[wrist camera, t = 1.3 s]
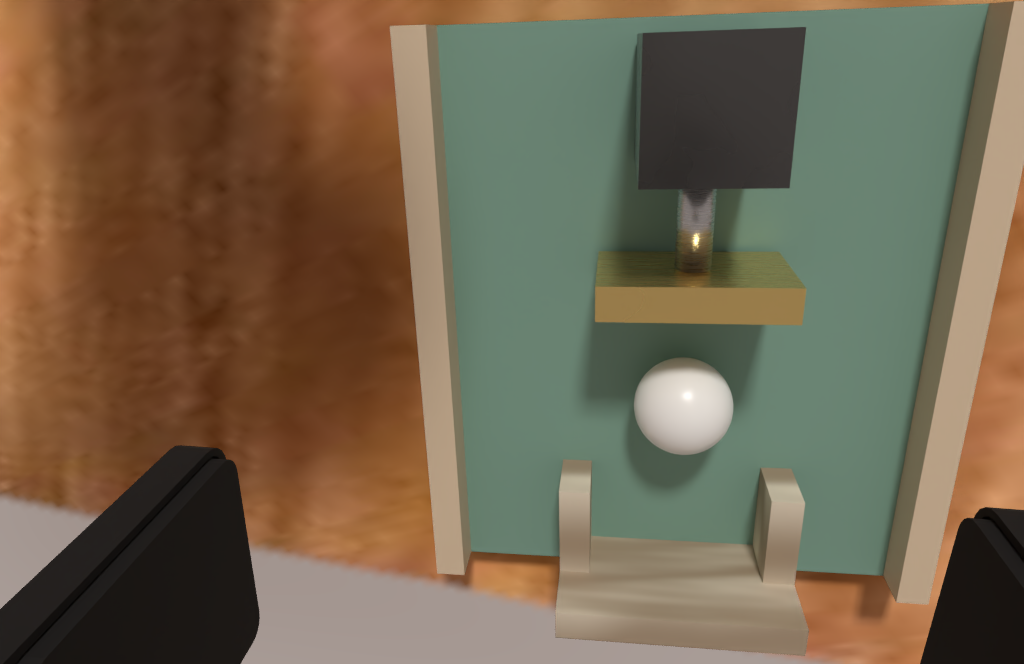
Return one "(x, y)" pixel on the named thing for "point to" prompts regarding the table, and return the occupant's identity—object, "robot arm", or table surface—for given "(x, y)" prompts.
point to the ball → (683, 406)
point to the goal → (683, 577)
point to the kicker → (709, 176)
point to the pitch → (737, 228)
